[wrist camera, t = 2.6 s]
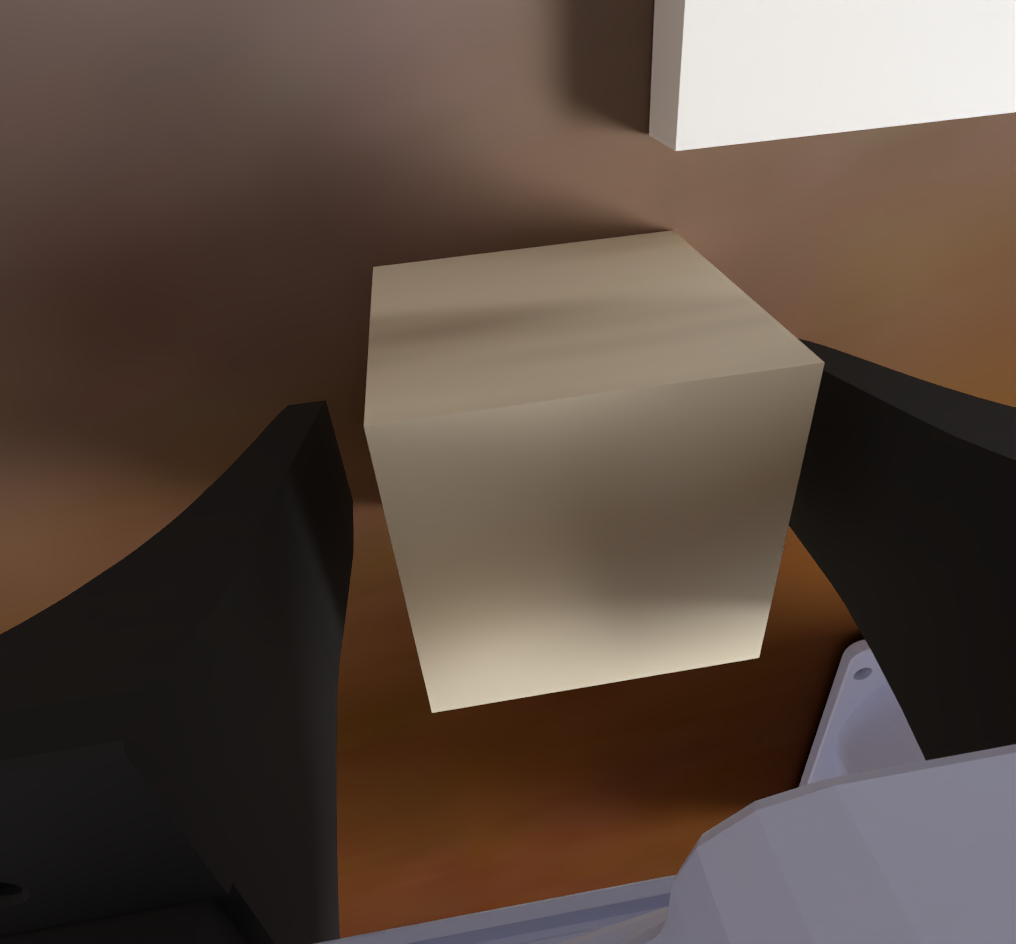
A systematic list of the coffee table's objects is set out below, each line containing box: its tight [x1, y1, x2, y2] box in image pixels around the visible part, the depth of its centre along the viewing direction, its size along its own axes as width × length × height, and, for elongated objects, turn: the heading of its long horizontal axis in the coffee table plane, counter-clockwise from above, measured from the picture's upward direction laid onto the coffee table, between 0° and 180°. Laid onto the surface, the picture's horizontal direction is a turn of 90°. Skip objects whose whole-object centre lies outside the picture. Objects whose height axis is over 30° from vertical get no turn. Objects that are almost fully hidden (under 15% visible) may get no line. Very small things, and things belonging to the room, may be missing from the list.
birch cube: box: [364, 230, 825, 713], centre depth 11 cm, size 5×5×5 cm
